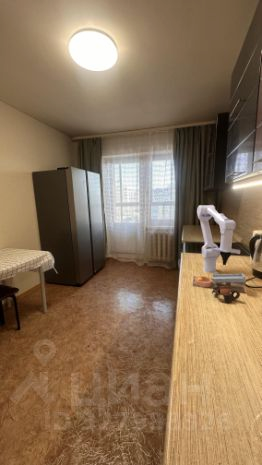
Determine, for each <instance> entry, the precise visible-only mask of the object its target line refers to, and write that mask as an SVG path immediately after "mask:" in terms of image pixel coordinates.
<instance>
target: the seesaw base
mask: <svg viewBox="0 0 262 465" xmlns="http://www.w3.org/2000/svg"><path fill="white" fill-rule="evenodd" d="M196 277H197V276H194V275H193V277H192V278H193V280H192V281H193V282H192V287H195V288H203V289H211V290H213V287H221V286H229V289H230V290H238V291H239V293H240V294H247V293H246V290H245V288H244V285H240V284H239V282H213V277H212V278H210V277H209V278H210V279H212V286H210V287H200V286H198V285H196V284H195V278H196Z"/></svg>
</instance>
